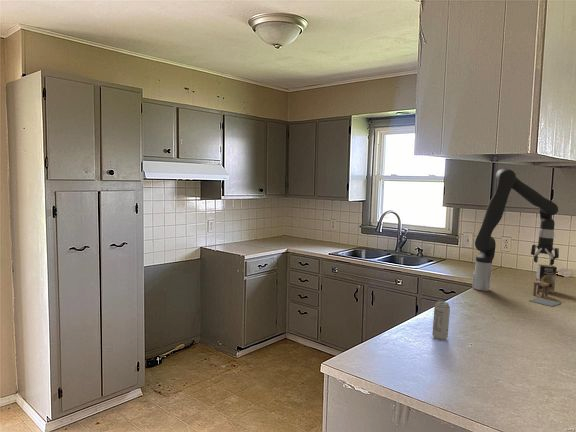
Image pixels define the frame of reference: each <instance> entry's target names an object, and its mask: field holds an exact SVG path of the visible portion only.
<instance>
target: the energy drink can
mask: <svg viewBox="0 0 576 432" xmlns="http://www.w3.org/2000/svg"><path fill="white" fill-rule="evenodd" d="M450 310H451V308H450V305H449V302H447V301H441V300H440V301H436V303H435V304H434V309H433V320H432V321H433V322H432V332H431V333H432V336H433V338H434V339H435V340H437V341H446V340H447V339H448V337H449V336H448V335H449V324H450V314H451V313H450V312H451V311H450Z"/></svg>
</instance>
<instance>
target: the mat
mask: <svg viewBox="0 0 576 432" xmlns="http://www.w3.org/2000/svg"><path fill="white" fill-rule="evenodd" d="M528 302H530V303H535V304H539V305H543V306H547V307H551V308H552V307H556V306H559V305H562V302H558V301H555V300H551V299H547V298H546V299H545V298H544V297H536V298H532V299H528Z"/></svg>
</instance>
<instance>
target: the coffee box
mask: <svg viewBox="0 0 576 432" xmlns="http://www.w3.org/2000/svg"><path fill="white" fill-rule="evenodd" d="M536 269H537V270H536V276H535V282H536V281H541V282H546V283H549V287H548V293H550V292H551V293H553V294H555V287H556V279H557V269H558V267H557V266H554V265H550V264H548V265H547V264H539V263H538V264H537V268H536ZM537 287H538V285H537ZM542 287H543V286H541V285H540V291H541V293H542ZM536 291H537V288H536ZM545 291H546V286H545ZM551 293H550V294H551Z"/></svg>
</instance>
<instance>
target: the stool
mask: <svg viewBox="0 0 576 432" xmlns="http://www.w3.org/2000/svg"><path fill="white" fill-rule="evenodd" d="M537 285H538V287H537ZM540 285H541V286H543V287H542V292H541V297H540V298H545V297H548V296H549V295H548V293H549V292H548V287H549V283H546V282H541V281H536V280H535V281H534V282H533V293H532V295H533V296H536V295H540ZM545 286H546V291H545ZM536 288H537V290H536Z"/></svg>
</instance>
